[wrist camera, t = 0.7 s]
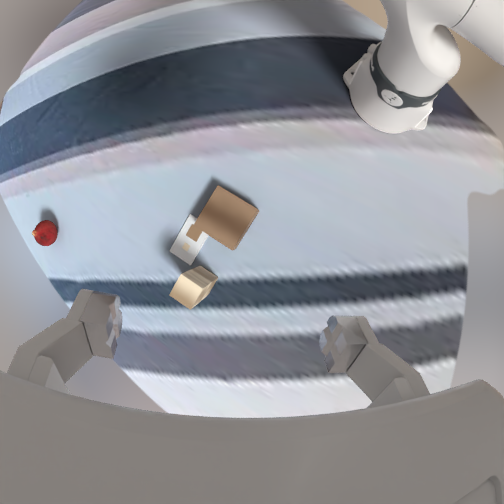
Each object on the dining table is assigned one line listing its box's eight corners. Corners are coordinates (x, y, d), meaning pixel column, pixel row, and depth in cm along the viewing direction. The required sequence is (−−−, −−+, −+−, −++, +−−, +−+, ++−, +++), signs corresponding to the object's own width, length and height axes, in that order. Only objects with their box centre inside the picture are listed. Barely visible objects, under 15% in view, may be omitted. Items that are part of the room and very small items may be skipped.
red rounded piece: (67, 230, 56) (43, 231, 48) (57, 249, 57) (34, 252, 49) (55, 215, 56) (32, 215, 48) (46, 234, 57) (23, 235, 49)
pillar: (200, 265, 53) (181, 273, 43) (218, 277, 52) (202, 288, 42) (190, 283, 53) (169, 295, 43) (207, 295, 53) (190, 309, 43)
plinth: (221, 187, 51) (217, 185, 48) (259, 211, 51) (257, 209, 48) (198, 225, 52) (193, 225, 49) (235, 249, 51) (232, 250, 48)
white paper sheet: (190, 214, 52) (189, 214, 52) (212, 228, 52) (212, 228, 51) (169, 250, 53) (169, 251, 53) (191, 265, 53) (190, 265, 53)
